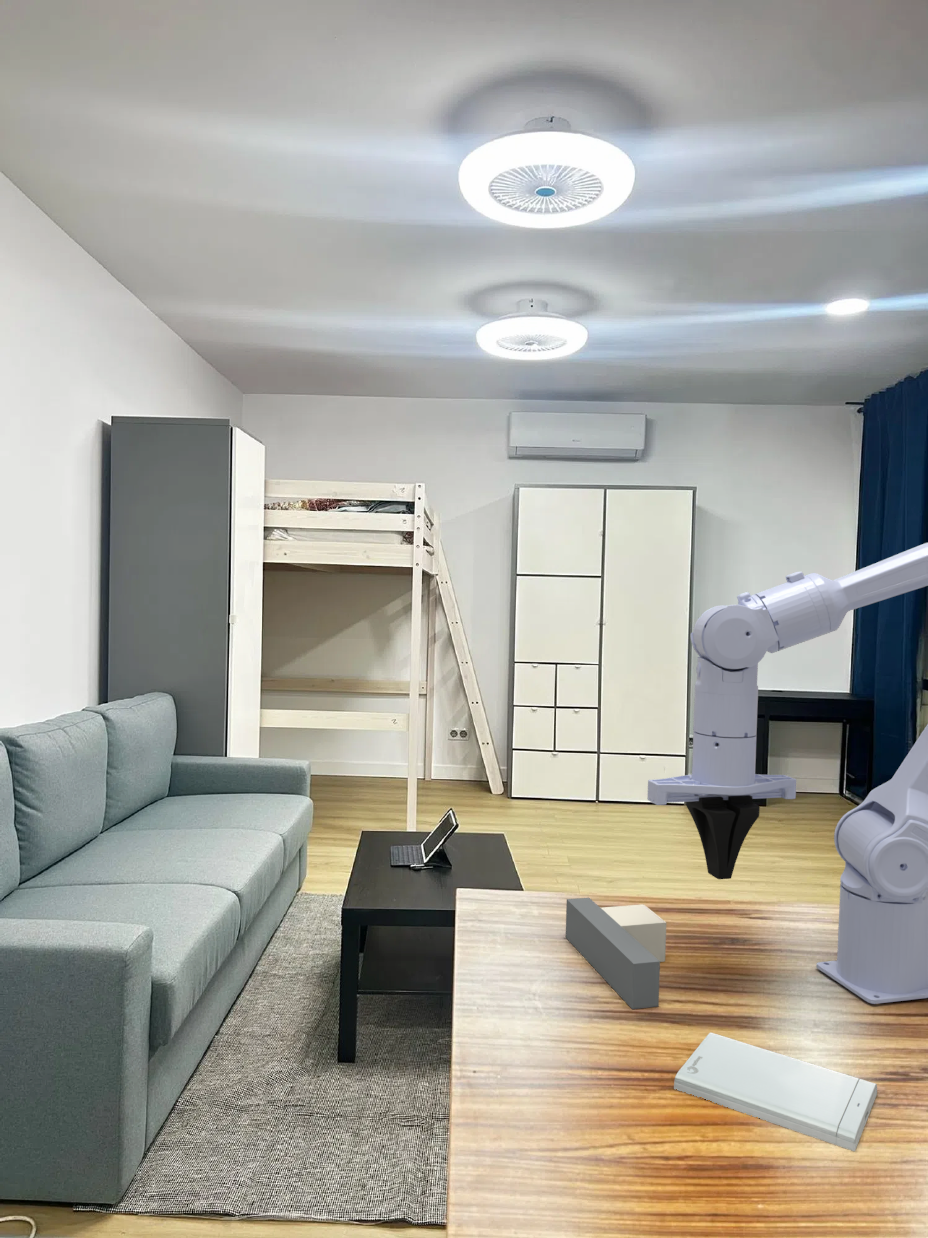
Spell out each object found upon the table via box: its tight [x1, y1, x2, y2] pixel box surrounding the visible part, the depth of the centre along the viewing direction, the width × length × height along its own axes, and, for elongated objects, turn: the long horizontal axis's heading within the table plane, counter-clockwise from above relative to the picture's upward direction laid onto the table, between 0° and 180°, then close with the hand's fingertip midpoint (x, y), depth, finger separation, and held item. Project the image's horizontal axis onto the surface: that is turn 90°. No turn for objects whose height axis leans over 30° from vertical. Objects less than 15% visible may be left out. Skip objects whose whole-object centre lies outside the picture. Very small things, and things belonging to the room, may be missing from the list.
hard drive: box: [673, 1032, 878, 1152], centre depth 66 cm, size 2×8×12 cm
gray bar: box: [565, 897, 661, 1010], centre depth 86 cm, size 2×16×4 cm, turn 15°
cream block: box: [600, 904, 667, 963], centre depth 90 cm, size 5×5×4 cm
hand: (719, 875), depth 86 cm, fingers closed
